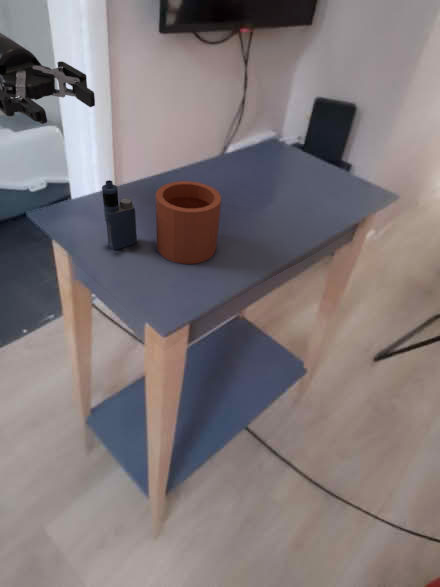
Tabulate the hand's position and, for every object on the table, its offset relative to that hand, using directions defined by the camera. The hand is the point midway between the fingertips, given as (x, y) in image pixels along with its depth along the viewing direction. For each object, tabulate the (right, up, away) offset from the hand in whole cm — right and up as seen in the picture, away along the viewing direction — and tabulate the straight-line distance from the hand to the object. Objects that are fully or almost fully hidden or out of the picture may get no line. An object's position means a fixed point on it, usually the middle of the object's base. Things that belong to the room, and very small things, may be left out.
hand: (69, 108), depth 58 cm
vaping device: (+5, -19, +11) cm, 22 cm away
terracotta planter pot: (+16, -19, +13) cm, 28 cm away
